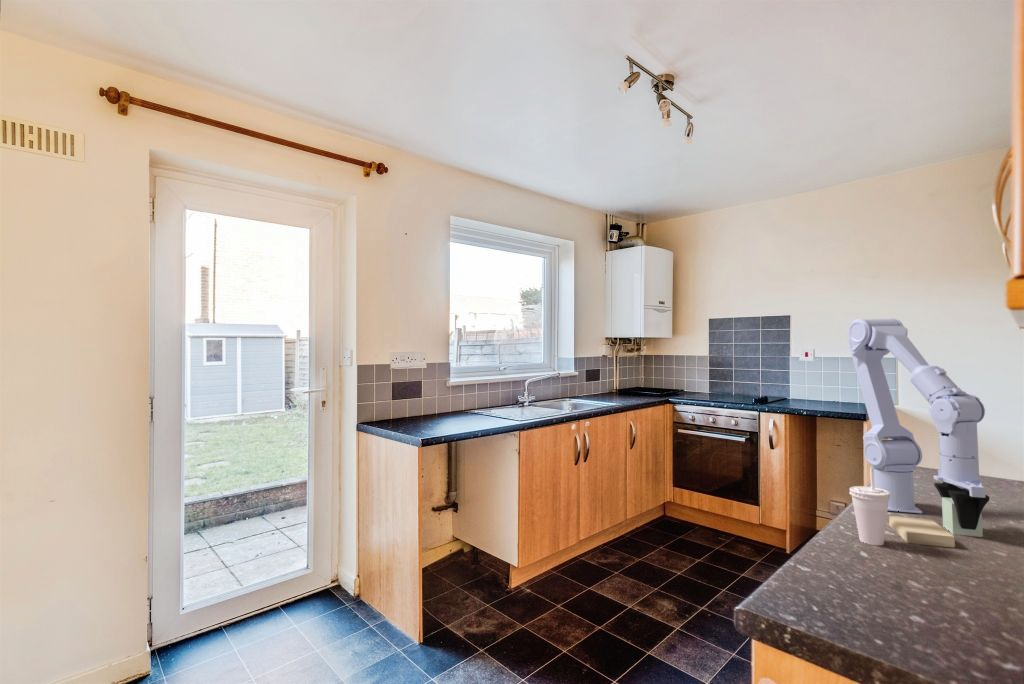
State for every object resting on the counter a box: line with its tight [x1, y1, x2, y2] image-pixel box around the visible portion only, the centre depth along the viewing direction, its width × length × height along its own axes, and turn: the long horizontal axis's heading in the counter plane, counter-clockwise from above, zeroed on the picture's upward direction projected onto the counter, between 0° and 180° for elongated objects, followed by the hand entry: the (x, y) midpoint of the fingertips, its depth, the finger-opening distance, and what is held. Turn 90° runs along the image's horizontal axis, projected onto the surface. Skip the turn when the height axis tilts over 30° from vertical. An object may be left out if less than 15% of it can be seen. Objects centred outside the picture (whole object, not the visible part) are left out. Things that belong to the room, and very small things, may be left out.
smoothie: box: [849, 466, 891, 547], centre depth 92 cm, size 6×6×14 cm
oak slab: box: [888, 515, 956, 548], centre depth 94 cm, size 10×7×2 cm
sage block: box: [941, 497, 984, 538], centre depth 96 cm, size 4×4×6 cm
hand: (961, 524), depth 96 cm, fingers closed on sage block, 4 cm apart
